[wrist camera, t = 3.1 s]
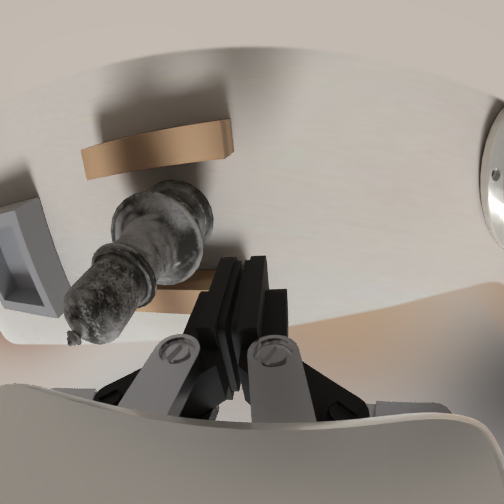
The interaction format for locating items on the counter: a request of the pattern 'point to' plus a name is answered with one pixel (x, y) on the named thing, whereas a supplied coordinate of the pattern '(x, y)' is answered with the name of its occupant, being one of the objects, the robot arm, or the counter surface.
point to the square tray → (29, 262)
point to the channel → (157, 155)
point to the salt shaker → (139, 259)
